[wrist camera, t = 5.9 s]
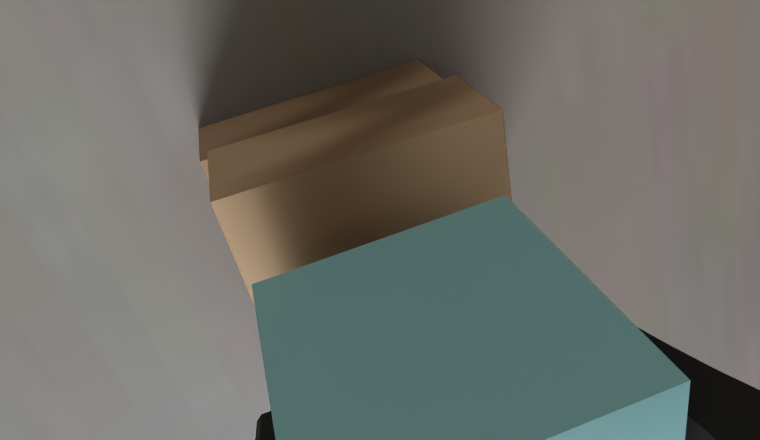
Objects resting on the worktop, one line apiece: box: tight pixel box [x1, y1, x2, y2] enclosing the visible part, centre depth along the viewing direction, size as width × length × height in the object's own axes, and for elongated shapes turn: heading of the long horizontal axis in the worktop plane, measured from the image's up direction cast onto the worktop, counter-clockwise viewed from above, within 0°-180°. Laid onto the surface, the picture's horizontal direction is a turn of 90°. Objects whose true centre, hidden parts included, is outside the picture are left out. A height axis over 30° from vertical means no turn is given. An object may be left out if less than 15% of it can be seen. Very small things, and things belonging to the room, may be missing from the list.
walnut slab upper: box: [207, 75, 512, 306], centre depth 14 cm, size 6×6×2 cm
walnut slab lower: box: [198, 59, 443, 181], centre depth 16 cm, size 6×6×2 cm
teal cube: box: [252, 195, 691, 440], centre depth 10 cm, size 5×5×5 cm
